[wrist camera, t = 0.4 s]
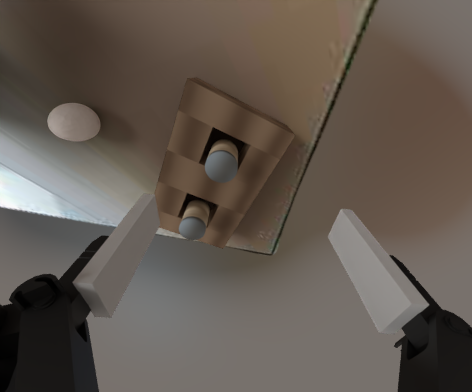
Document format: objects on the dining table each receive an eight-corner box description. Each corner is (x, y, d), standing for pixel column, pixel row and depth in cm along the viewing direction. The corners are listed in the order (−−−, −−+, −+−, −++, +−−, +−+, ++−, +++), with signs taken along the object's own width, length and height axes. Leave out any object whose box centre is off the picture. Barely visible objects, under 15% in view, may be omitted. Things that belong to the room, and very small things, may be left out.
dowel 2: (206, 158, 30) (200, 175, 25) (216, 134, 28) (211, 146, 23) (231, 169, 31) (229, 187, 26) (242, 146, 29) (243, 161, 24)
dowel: (184, 213, 36) (175, 234, 31) (191, 196, 34) (183, 216, 29) (205, 220, 37) (200, 242, 32) (213, 204, 35) (208, 226, 30)
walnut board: (157, 204, 41) (146, 222, 36) (196, 77, 29) (187, 78, 23) (225, 229, 45) (223, 248, 40) (286, 125, 32) (295, 135, 27)
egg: (103, 140, 34) (70, 155, 28) (71, 120, 32) (29, 131, 26) (113, 115, 32) (81, 126, 25) (80, 92, 30) (36, 97, 23)
